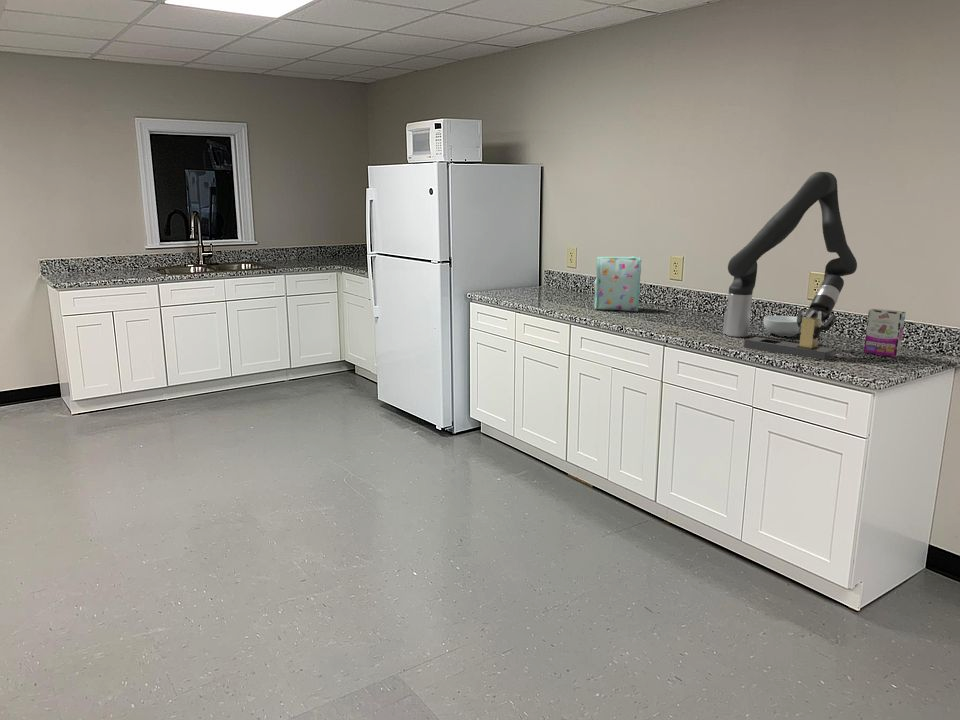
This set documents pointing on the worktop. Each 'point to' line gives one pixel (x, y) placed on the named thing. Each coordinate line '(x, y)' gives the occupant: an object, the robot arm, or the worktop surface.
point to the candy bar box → (884, 332)
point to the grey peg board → (788, 348)
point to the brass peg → (808, 333)
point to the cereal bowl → (781, 325)
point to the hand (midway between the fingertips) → (807, 336)
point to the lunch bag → (617, 283)
